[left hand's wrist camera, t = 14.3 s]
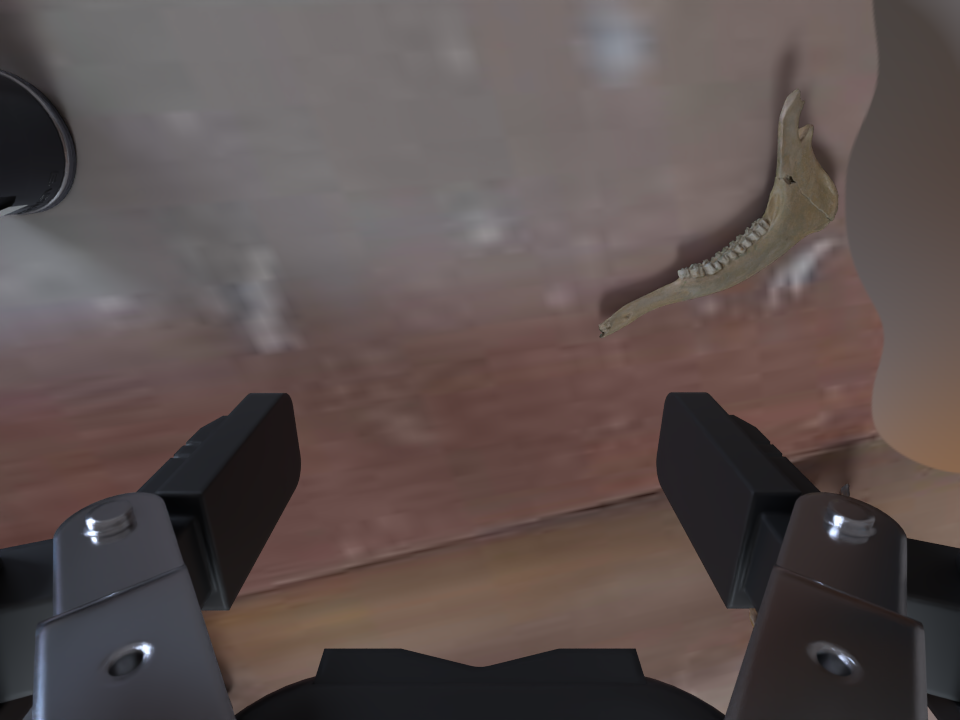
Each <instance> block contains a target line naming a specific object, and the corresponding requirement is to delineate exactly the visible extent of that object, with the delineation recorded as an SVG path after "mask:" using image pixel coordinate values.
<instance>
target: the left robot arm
mask: <svg viewBox="0 0 960 720" xmlns="http://www.w3.org/2000/svg"><path fill="white" fill-rule="evenodd" d="M75 172H76V155H75V149H74V144H73V141H72V138H71V135H70V133H69V130H68V128H67V126H66V124H65V122H64V120H63V119H62V117H61V115H60V114H59V112H58V111H57V110H56V108H55V107H54V106H53V105H52V103H51V102H50V101H49V100H48V99H47V98H46V97H45V96H44V95H43V94H42V93H41V92H40V91H39V90H37V89H36V88H35V87H34V86H32V85H31V84H29V83H28V82H26V81H25V80H23V79H21V78H20V77H18V76H16V75H14V74H11V73H9V72H6V71H3V70H0V217H2V216H5V215H24V214H32V213H38V212H42V211H46V210H48V209H51V208H52V207H54V206H56V205H57V204H59V203H60V202H61V201H62V200H63V199H64V198H65V197H66V195H67V194H68V192H69V191H70V189H71V187H72V184H73V181H74V178H75ZM656 465H657V475H658V479H659V483H660V485H661V487H662V489H663V491H664V493H665V495H666V497H667V499H668V500H669V502H670V504H671V506H672V508H673V510H674V511H675V513H676V515H677V517H678V519H679V521H680V523H681V524H682V526H683V528H684V530H685V532H686V534H687V536H688V537H689V539H690V541H691V543H692V545H693V547H694V548H695V550H696V552H697V554H698V556H699V558H700V560H701V561H702V563H703V565H704V567H705V569H706V571H707V573H708V574H709V576H710V578H711V580H712V582H713V584H714V585H715V587H716V589H717V591H718V593H719V595H720V597H721V598H722V600H723V602H724V604H725V606H726V608H755V610H756V611H757V613H758V615H757V619H756V622H755V625H754V628H753V631H752V634H751V637H750V640H749V644H748V647H747V650H746V653H745V656H744V659H743V662H742V665H741V668H740V672H739V675H738V678H737V681H736V684H735V687H734V690H733V693H732V697H731V700H730V703H729V706H728V709H727V712H726V715H724V714H723V713H721V712H720V711H718V710H717V709H716V708H714V707H713V706H711V705H709V704H708V703H706V702H704V701H702V700H701V699H699V698H697V697H696V696H694V695H692V694H690V693H688V692H685V691H683V690H681V689H679V688H677V687H675V686H672V685H670V684H667V683H664V682H661V681H658V680H656V679H652V678H648V677H645V676H644V674H643V671H642V668H641V665H640V661H639V658H638V655H637V652H636V649H556V650H552V651H548V652H544V653H540V654H535V655H531V656H527V657H523V658H519V659H515V660H511V661H507V662H503V663H499V664H495V665H491V666H486V667H474V666H469V665H465V664H461V663H457V662H453V661H449V660H445V659H441V658H437V657H433V656H429V655H425V654H420V653H416V652H412V651H408V650H404V649H324V652H323V655H322V658H321V661H320V665H319V668H318V671H317V674H316V676H315V677H312V678H308V679H304V680H302V681H299V682H296V683H293V684H290V685H288V686H285V687H283V688H281V689H279V690H277V691H275V692H272V693H270V694H268V695H266V696H264V697H263V698H261V699H259V700H258V701H256V702H254V703H252V704H251V705H249V706H247V707H246V708H244V709H243V710H242V711H240V712H239V713H237V714H236V715H234V712H233V709H232V706H231V703H230V700H229V697H228V693H227V690H226V687H225V684H224V681H223V678H222V675H221V672H220V668H219V665H218V662H217V659H216V656H215V653H214V650H213V647H212V644H211V640H210V637H209V634H208V631H207V628H206V625H205V622H204V619H203V615H202V612H201V610H229V609H230V608H231V606H232V604H233V602H234V600H235V598H236V597H237V595H238V593H239V591H240V589H241V588H242V586H243V584H244V582H245V580H246V578H247V577H248V575H249V573H250V571H251V569H252V567H253V566H254V564H255V562H256V560H257V558H258V556H259V555H260V553H261V551H262V549H263V547H264V545H265V544H266V542H267V540H268V538H269V536H270V535H271V533H272V531H273V529H274V527H275V525H276V524H277V522H278V520H279V518H280V516H281V514H282V513H283V511H284V509H285V507H286V505H287V503H288V502H289V500H290V498H291V496H292V494H293V492H294V491H295V489H296V487H297V484H298V481H299V477H300V471H301V457H300V450H299V443H298V437H297V430H296V423H295V417H294V410H293V404H292V400H291V398H290V396H289V395H288V394H287V393H250V394H248V395H247V396H246V397H245V398H244V399H243V400H242V401H241V402H240V403H239V405H238V406H237V407H236V408H235V409H234V410H233V411H232V412H231V413H230V414H229V415H228V416H222V417H220V418H218V419H217V420H215V421H213V422H211V423H209V424H207V425H206V426H204V427H202V428H200V429H199V430H198V431H197V432H196V433H195V434H194V435H193V436H192V437H191V438H190V439H189V440H188V441H187V442H186V446H182V447H181V448H180V449H179V450H178V451H177V452H176V453H175V454H174V458H170V459H169V460H168V461H167V462H166V463H165V464H164V465H163V466H162V467H161V468H160V469H159V470H158V471H157V472H156V473H155V474H154V475H153V476H152V477H151V478H150V479H149V480H148V481H147V482H146V483H145V484H144V485H143V486H142V487H141V488H140V489H139V490H138V491H137V492H134V493H126V494H121V495H116V496H113V497H109V498H106V499H103V500H100V501H98V502H95V503H93V504H91V505H89V506H87V507H85V508H83V509H81V510H79V511H78V512H76V513H74V514H73V515H72V516H70V517H69V518H68V519H66V520H65V521H64V522H63V523H62V524H61V525H60V527H59V528H58V529H57V530H56V532H55V534H54V538H53V539H50V540H45V541H40V542H34V543H29V544H24V545H19V546H14V547H9V548H4V549H0V720H23V718H24V717H25V715H26V714H27V713H28V711H29V710H30V709H31V707H32V706H33V709H32V720H928V709H927V706H928V707H929V709H930V710H931V711H932V713H933V714H934V716H935V717H936V718H937V720H960V548H955V547H950V546H945V545H940V544H934V543H929V542H924V541H919V540H914V539H909V538H906V534H905V532H904V530H903V529H902V528H901V527H900V525H899V524H898V523H897V522H896V521H895V520H894V519H892V518H891V517H890V516H888V515H887V514H886V513H884V512H882V511H881V510H879V509H877V508H875V507H873V506H871V505H869V504H867V503H865V502H862V501H860V500H857V499H854V498H851V497H847V496H844V495H839V494H834V493H826V492H820V491H819V490H818V489H817V488H816V487H815V486H814V485H813V484H812V483H811V482H810V481H809V480H808V479H807V478H806V477H805V476H804V475H803V474H802V473H801V472H800V471H799V470H798V469H797V468H796V467H795V466H794V465H793V464H792V463H791V462H790V461H789V460H788V459H787V458H786V457H782V453H781V452H780V451H779V450H778V449H777V448H776V447H775V446H774V445H773V444H770V441H769V440H768V439H767V438H766V437H765V436H764V435H763V434H762V433H761V432H760V431H759V430H758V429H757V428H756V427H754V426H753V425H751V424H749V423H747V422H745V421H744V420H742V419H740V418H738V417H736V416H734V415H728V414H727V412H726V411H725V410H724V409H723V408H722V407H721V406H720V405H719V404H718V403H717V402H716V401H715V400H714V399H713V398H712V397H711V396H710V395H709V394H708V393H706V392H671V393H669V394H668V395H667V397H666V400H665V404H664V410H663V417H662V424H661V431H660V438H659V444H658V451H657V461H656Z"/></svg>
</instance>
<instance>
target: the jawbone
mask: <svg viewBox="0 0 960 720" xmlns="http://www.w3.org/2000/svg"><path fill="white" fill-rule="evenodd" d="M804 103H805V101H801V98H800V91H799V89H796V90H795V91H793V92H792V93H791V94H790V95H789V96H788V97H787V98H786V101H785V103H784V105H783V108H782V111H781V113H780V118H779V126H778V150H777V170H776V177H775V182H774V187H773V189H772V191H771V193H770V196H769V201H768V205H767V208H766V211H765V213H764V215H763V217H762V218H761V219H758V220H757V221H754V223H752V227H751V228H748V227H747V228H746V230H745V234H744V235H741V234H739V236H736V238H737V239H736V241H731V242H730V243H729V245H730V247H728V246H726V247H725V248H723V250H722V252H720V251H718V252H717V253H715V256H714V257H712V258H711V261H709V260H708V259H706V260H704V261H703V263H702V264H701V263H699V264H696V263H695V264H692V265H691V266H690V267H689V268H688V269H687V267H686V268H685V269H683V268H682V269H681V270H679V271H678V276H679V278H678V279H677V280H676V281H674V282H673V283H670V284H668V285H666V286H663V287H661V288H659V289H657V290H655V291H653V292H651V293H649V294H647V295H645V296H643V297H641V298H639V299H637V300H635V301H633V302H631V303H629V304H627V305H625V306H623V307H622V308H621V309H619V310H618V311H617V312H616V313H615V314H613V315H612V316H611V317H610V318H608V319H607V320H605V321H604V322H603V323H602V324H600V325H599V330H600V331H601V332H602V333H603V334H600V338H603V337H605V336H608V335H610V334H612V333H614V332H616V331H618V330H619V329H621V328H623V327H625V326H626V325H628V324H630V323H631V322H633V321H634V320H636V319H637V318H639V317H640V316H642V315H643V314H645V313H647V312H649V311H651V310H654V309H656V308H659V307H662V306H665V305H668V304H672V303H676V302H681V301H685V300H690V299H694V298H698V297H702V296H706V295H710V294H713V293H716V292H719V291H722V290H725V289H727V288H730V287H732V286H734V285H736V284H738V283H740V282H742V281H744V280H746V279H747V278H749V277H751V276H753V275H754V274H756V273H757V272H759V271H760V270H762V269H764V268H765V267H766V266H768V265H769V264H771V263H772V262H774V261H775V260H776V259H778V258H779V257H780V256H782V255H783V254H784V253H786V252H787V251H788V250H789V249H790V248H791V247H793V246H794V245H795V244H796V243H797V242H799V241H800V240H801V239H803V238H804V237H805V236H807V235H809V234H811V233H814V232H818V231H821V230H822V229H824V228H825V227H826V226H827V225H828V224H829V222H830V221H833V220H834V217H835V215H836V212H837V210H838V192H837V189H836V187H835V185H834V183H833V181H832V180H831V178H830V177H829V175H828V174H827V172H826V171H825V170H824V169H823V168H822V167H821V166H820V164H819V163H818V161H817V159H816V157H815V155H814V152H813V148H812V136H813V125H811V124H808V125H806V126H804V127H802V128H799V129H798V123H799V117H800V113H801V110H802V108H803V105H804Z"/></svg>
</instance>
